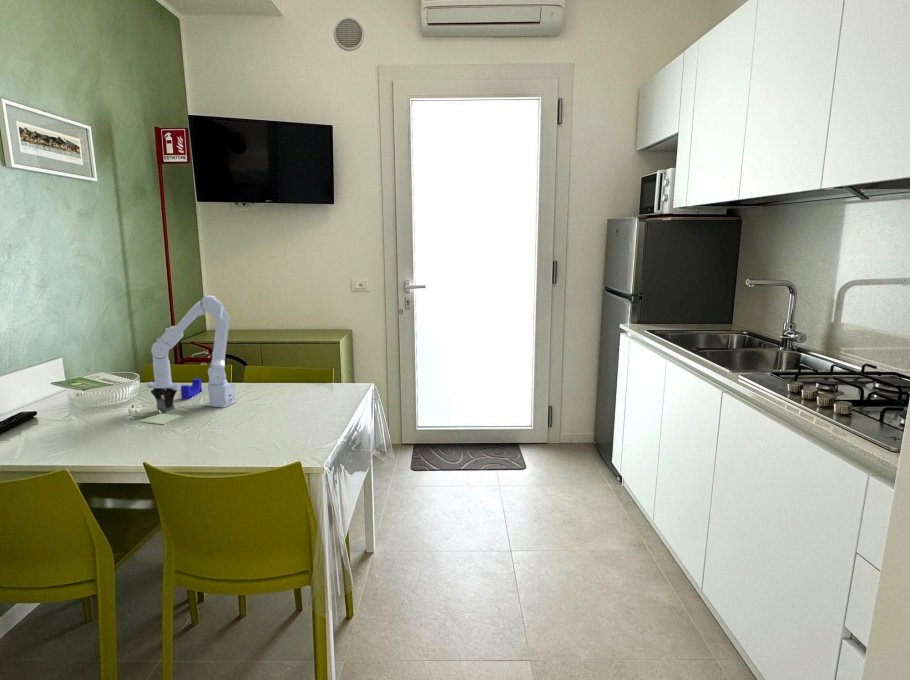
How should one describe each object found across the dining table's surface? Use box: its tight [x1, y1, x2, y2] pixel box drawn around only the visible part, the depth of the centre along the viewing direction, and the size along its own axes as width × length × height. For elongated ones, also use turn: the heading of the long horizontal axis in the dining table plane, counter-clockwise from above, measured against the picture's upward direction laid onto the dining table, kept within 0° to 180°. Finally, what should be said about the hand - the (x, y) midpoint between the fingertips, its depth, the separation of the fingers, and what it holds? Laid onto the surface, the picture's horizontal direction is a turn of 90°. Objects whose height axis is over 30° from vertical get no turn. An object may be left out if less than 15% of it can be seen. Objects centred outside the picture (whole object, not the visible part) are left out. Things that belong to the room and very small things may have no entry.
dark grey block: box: [155, 395, 175, 413], centre depth 208 cm, size 3×7×6 cm, turn 164°
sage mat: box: [138, 413, 183, 425], centre depth 199 cm, size 11×9×1 cm
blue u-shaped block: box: [180, 378, 203, 400], centre depth 228 cm, size 12×4×6 cm, turn 1°
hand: (165, 406), depth 208 cm, fingers closed on dark grey block, 3 cm apart
